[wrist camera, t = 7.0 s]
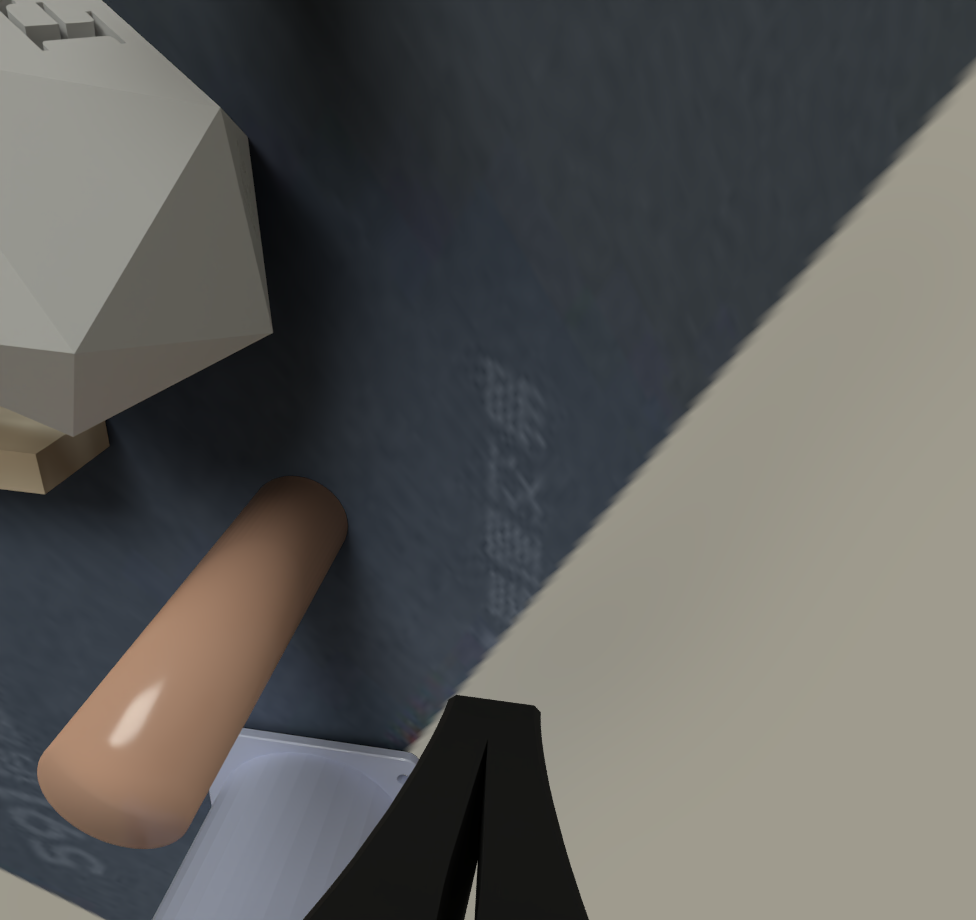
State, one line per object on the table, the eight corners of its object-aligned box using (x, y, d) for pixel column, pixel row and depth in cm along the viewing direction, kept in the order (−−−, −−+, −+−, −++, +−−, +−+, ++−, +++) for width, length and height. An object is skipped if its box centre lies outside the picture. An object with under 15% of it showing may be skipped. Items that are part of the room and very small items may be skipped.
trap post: (348, 565, 23) (200, 859, 15) (256, 554, 24) (55, 835, 15) (346, 482, 22) (180, 749, 13) (248, 470, 22) (21, 725, 13)
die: (386, 289, 20) (259, 12, 11) (149, 522, 19) (-218, 448, 10) (186, 106, 21) (-86, -284, 12) (-44, 317, 21) (-531, 77, 11)
